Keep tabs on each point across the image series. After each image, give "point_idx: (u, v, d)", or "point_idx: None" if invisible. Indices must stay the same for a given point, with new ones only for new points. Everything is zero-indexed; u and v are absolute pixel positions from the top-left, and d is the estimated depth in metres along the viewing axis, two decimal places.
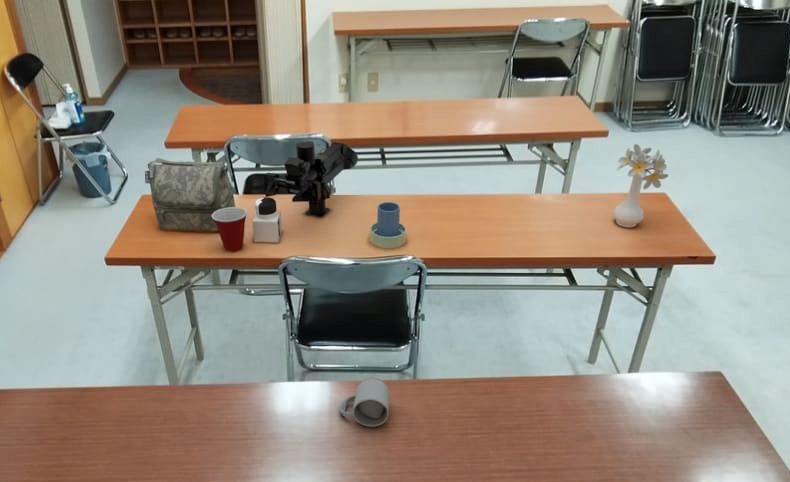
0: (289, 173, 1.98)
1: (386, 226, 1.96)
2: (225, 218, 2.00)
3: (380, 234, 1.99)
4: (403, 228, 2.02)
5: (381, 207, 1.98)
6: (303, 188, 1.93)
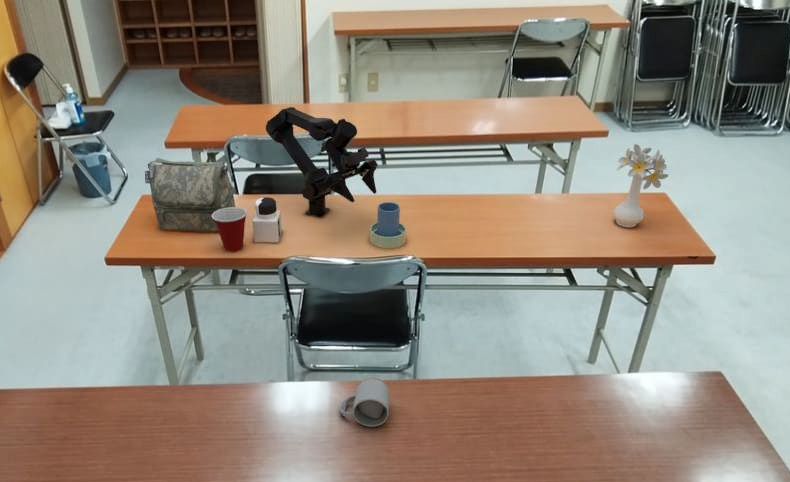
0: (349, 165, 1.95)
1: (386, 226, 1.96)
2: (225, 218, 2.00)
3: (380, 234, 1.99)
4: (403, 228, 2.02)
5: (381, 207, 1.98)
6: (371, 175, 2.00)
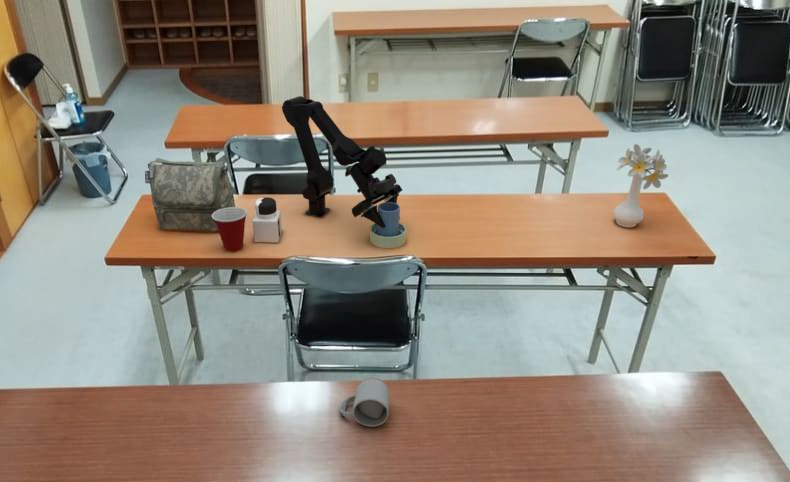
0: (378, 192, 1.94)
1: (386, 226, 1.96)
2: (225, 218, 2.00)
3: (380, 234, 1.99)
4: (403, 228, 2.02)
5: (381, 207, 1.98)
6: (394, 201, 1.99)
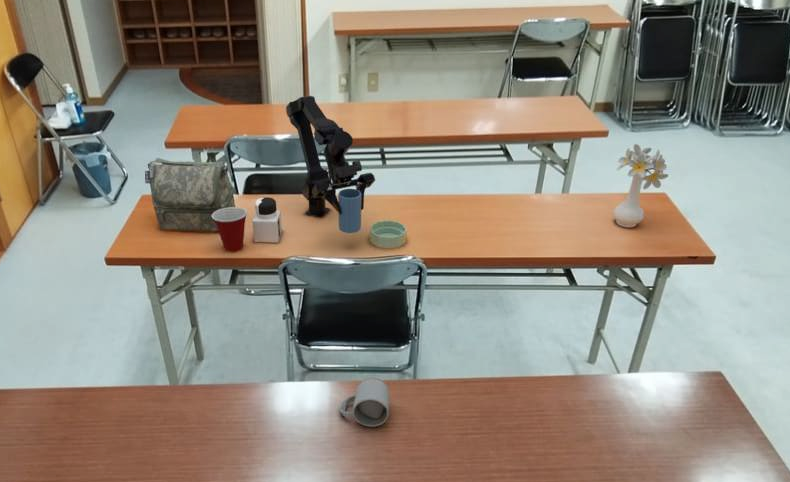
0: (340, 176, 1.88)
1: (343, 212, 1.89)
2: (225, 218, 2.00)
3: (339, 220, 1.92)
4: (403, 228, 2.02)
5: (346, 193, 1.91)
6: (361, 189, 1.91)
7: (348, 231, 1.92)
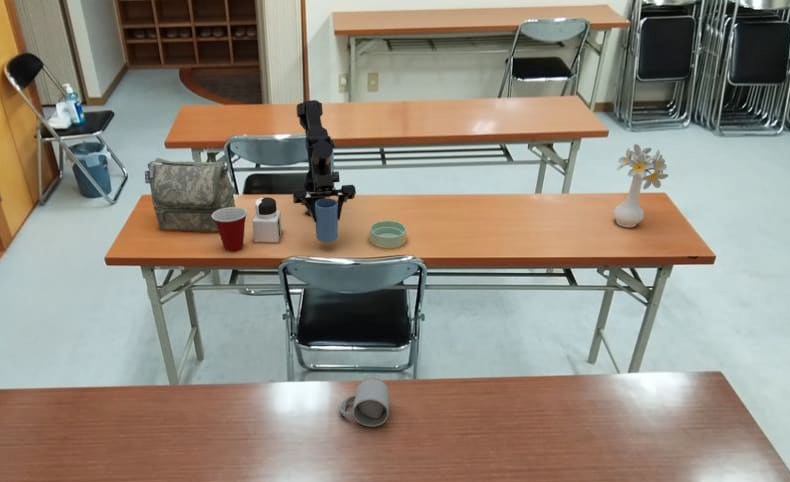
0: None
1: (317, 221, 1.91)
2: (225, 218, 2.00)
3: (316, 228, 1.95)
4: (403, 228, 2.02)
5: (325, 202, 1.93)
6: (340, 200, 1.92)
7: (322, 240, 1.94)
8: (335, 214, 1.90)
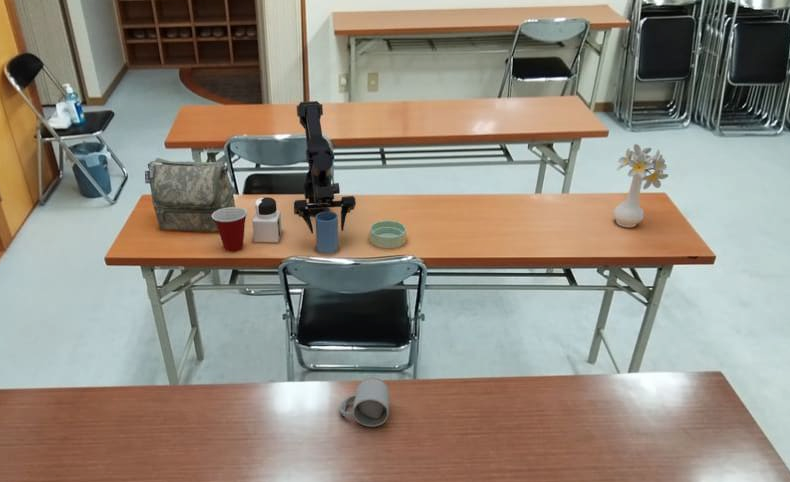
0: None
1: (318, 234, 1.94)
2: (225, 218, 2.00)
3: None
4: (403, 228, 2.02)
5: (325, 215, 1.96)
6: (344, 211, 1.94)
7: (323, 252, 1.96)
8: (335, 227, 1.93)
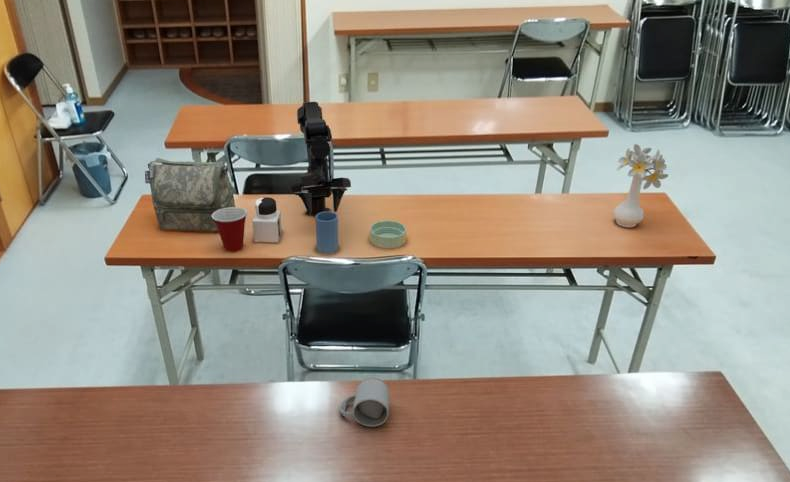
0: None
1: (318, 234, 1.94)
2: (225, 218, 2.00)
3: None
4: (403, 228, 2.02)
5: (325, 215, 1.96)
6: (334, 194, 1.96)
7: (323, 252, 1.96)
8: (335, 227, 1.93)
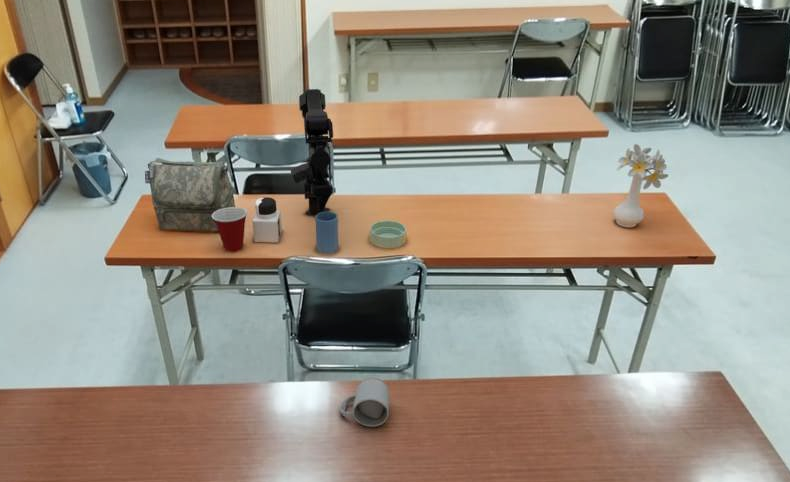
0: None
1: (318, 234, 1.94)
2: (225, 218, 2.00)
3: None
4: (403, 228, 2.02)
5: (325, 215, 1.96)
6: None
7: (323, 252, 1.96)
8: (335, 227, 1.93)
